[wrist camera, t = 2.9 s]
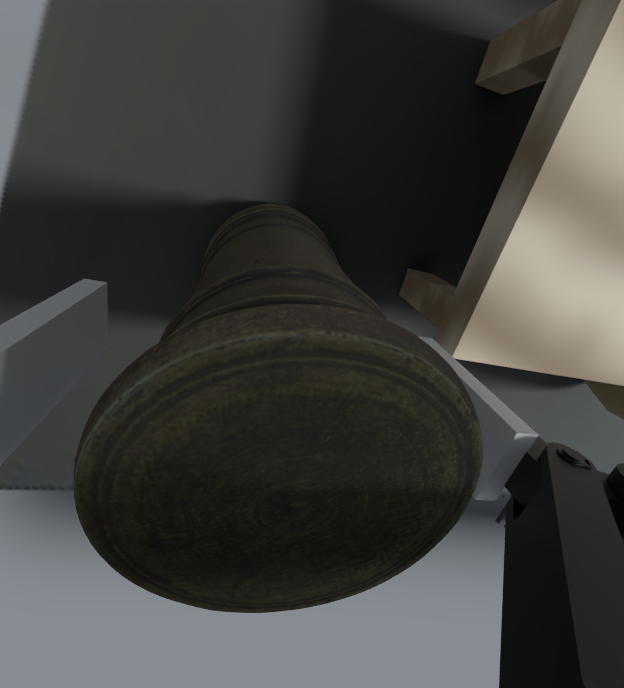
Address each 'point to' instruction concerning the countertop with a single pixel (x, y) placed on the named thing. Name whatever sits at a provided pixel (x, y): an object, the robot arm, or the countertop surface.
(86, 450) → the container
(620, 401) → the squeeze bottle
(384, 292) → the countertop surface
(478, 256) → the beige flat-topped legged fixture
